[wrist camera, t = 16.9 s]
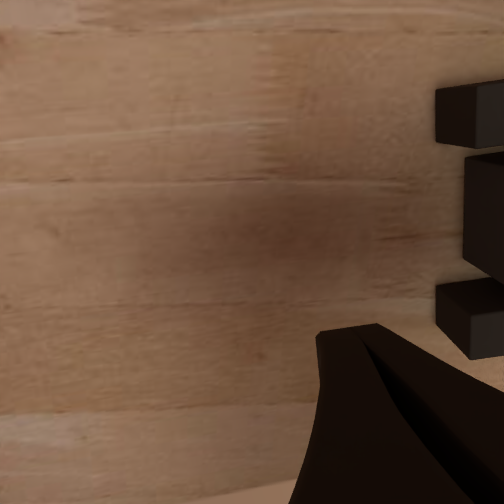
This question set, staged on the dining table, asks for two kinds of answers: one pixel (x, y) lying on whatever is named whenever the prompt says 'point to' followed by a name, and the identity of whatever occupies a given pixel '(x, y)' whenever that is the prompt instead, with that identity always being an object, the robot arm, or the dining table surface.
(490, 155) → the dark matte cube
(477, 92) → the black u-shaped block
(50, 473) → the dining table surface
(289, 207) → the dining table surface
